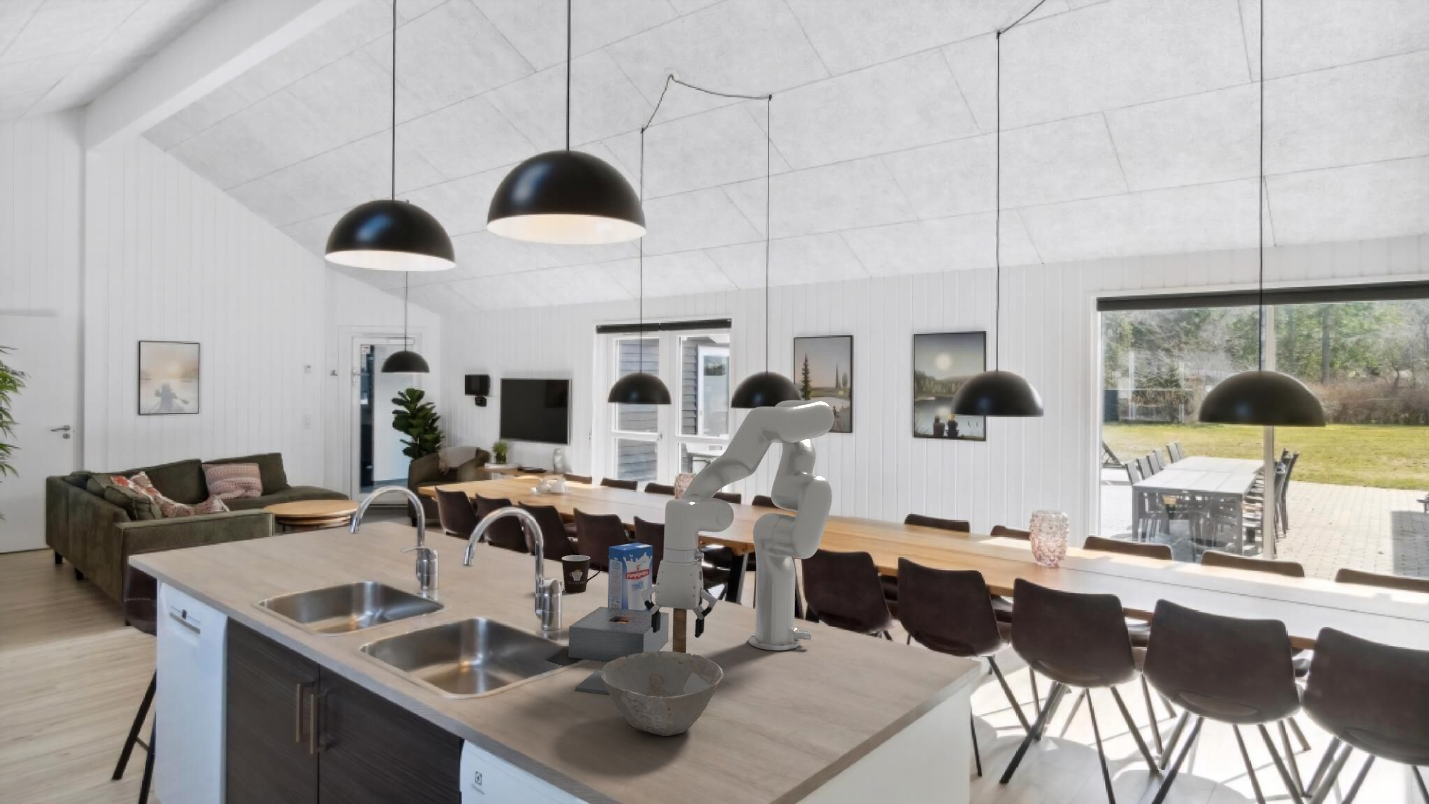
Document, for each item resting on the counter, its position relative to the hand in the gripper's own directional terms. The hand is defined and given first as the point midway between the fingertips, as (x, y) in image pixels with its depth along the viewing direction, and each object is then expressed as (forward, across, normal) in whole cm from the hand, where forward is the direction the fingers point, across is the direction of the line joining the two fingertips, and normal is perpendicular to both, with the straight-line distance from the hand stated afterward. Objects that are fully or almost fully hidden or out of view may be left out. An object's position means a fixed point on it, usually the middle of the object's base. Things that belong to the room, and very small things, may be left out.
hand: (677, 633), depth 171 cm
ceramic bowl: (+8, -6, +29) cm, 31 cm away
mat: (+8, +10, +13) cm, 19 cm away
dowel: (+8, 0, -1) cm, 8 cm away
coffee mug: (+7, +48, -57) cm, 75 cm away
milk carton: (+8, +22, -31) cm, 39 cm away
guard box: (+8, +16, -9) cm, 20 cm away
